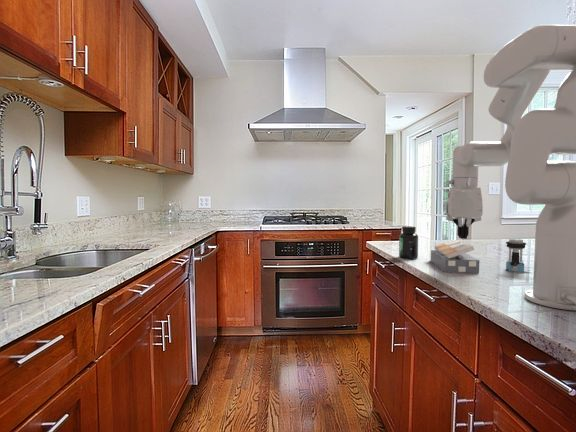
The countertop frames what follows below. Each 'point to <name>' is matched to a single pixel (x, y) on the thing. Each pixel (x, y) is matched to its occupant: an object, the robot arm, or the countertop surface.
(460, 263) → the console
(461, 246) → the rocker
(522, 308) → the countertop surface
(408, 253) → the supplement bottle
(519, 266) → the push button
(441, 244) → the rocker
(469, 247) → the rocker
